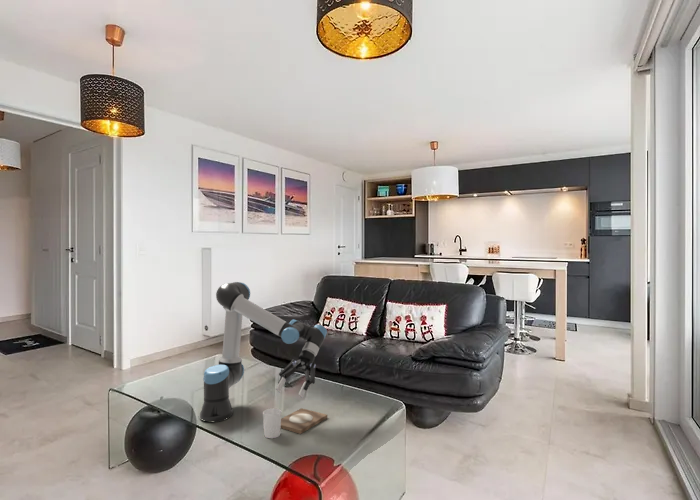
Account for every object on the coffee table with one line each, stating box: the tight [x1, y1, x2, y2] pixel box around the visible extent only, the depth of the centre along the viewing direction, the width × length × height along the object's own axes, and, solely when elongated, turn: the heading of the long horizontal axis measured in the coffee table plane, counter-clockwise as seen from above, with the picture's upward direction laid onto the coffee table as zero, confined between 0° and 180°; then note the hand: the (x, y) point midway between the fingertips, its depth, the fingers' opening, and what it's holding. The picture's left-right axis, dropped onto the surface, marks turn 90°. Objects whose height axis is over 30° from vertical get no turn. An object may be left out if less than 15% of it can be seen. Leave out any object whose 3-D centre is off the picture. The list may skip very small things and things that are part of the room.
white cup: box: [262, 407, 282, 439], centre depth 165 cm, size 8×8×10 cm
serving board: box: [280, 407, 328, 435], centre depth 178 cm, size 20×16×2 cm
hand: (288, 393), depth 175 cm, fingers open, 13 cm apart
